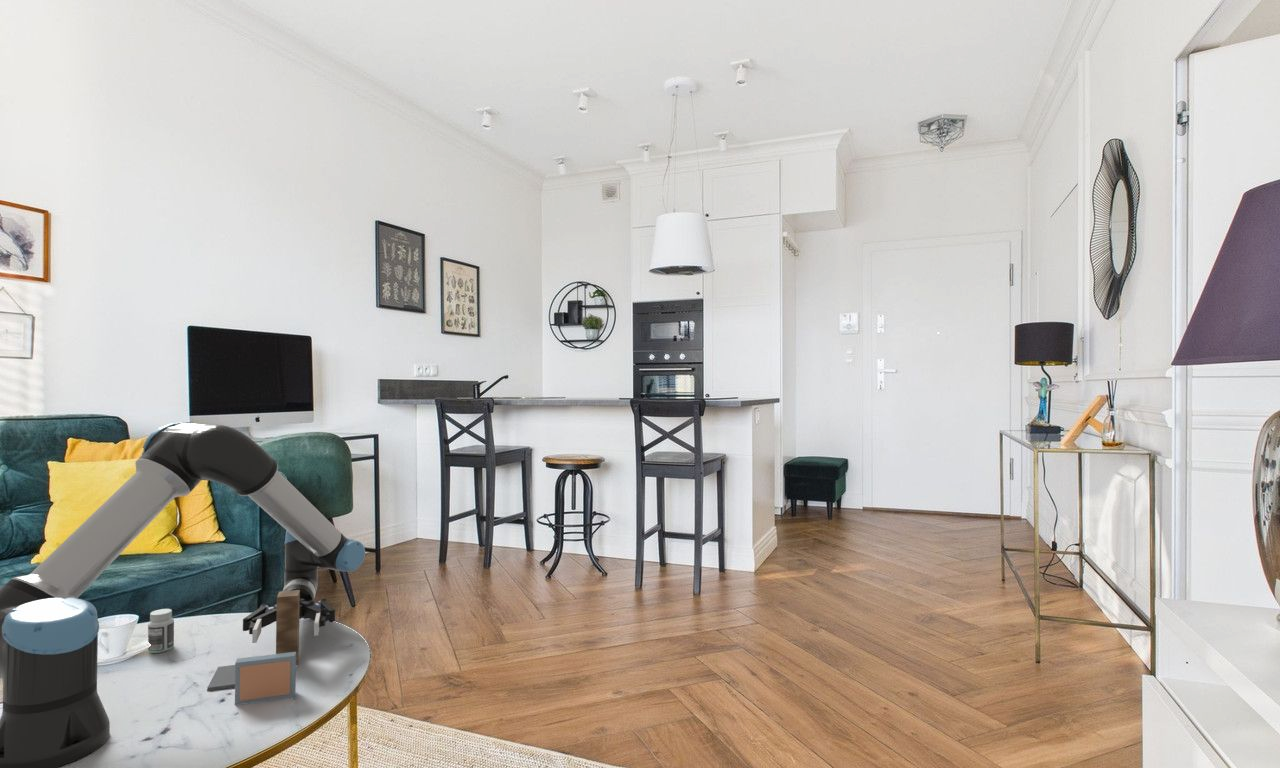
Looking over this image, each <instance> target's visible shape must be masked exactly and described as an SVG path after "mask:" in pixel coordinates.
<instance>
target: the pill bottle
mask: <svg viewBox="0 0 1280 768" xmlns="http://www.w3.org/2000/svg"><path fill="white" fill-rule="evenodd" d="M147 637H148V639H147V641H148V642H149V643H150V644H151V646H150V647H149V648H148V647H147V651H148V652H149V653H152V654H158V653H163V652H164V653H165V652H168V651H170V650H172V649H173V648H174V647H175V646H174V645H175V619H174V618H173V610H172V608H171V609H170V608H161V609H157V610H152V611H151V612H150V614H149V622H148V624H147Z"/></svg>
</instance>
